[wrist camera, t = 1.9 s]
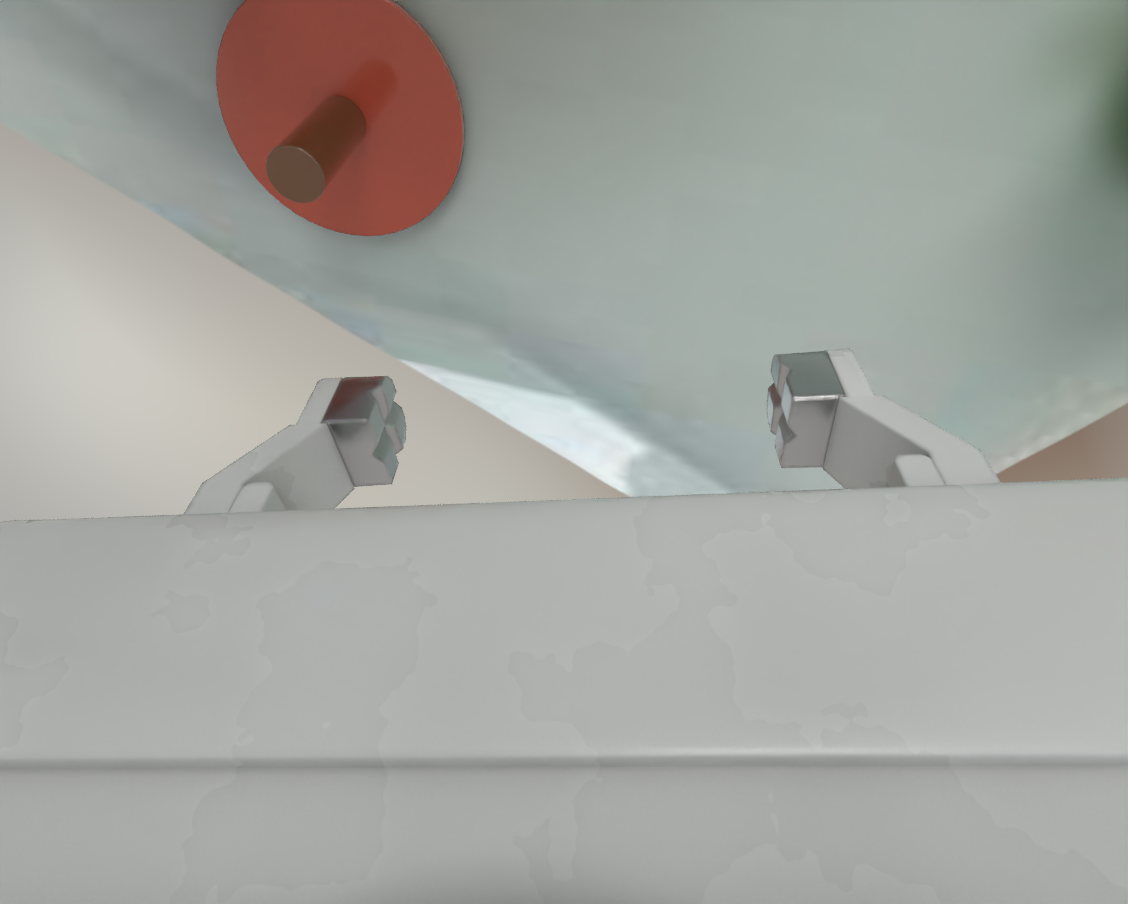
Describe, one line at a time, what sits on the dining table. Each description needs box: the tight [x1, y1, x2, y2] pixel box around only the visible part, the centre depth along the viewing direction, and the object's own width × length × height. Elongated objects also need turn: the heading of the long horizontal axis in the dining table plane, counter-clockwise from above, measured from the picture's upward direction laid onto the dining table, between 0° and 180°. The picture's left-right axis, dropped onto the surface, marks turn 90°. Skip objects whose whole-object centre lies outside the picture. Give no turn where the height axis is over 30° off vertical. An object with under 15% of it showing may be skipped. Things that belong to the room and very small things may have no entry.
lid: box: [216, 0, 464, 236], centre depth 33 cm, size 13×13×9 cm
